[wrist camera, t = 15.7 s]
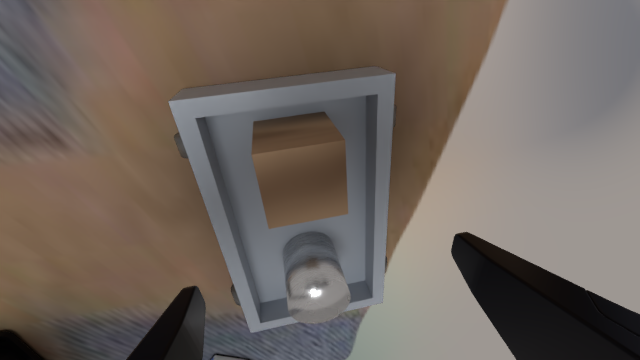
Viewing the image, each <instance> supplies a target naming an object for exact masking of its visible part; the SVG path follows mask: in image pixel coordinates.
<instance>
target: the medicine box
mask: <svg viewBox="0 0 640 360" xmlns="http://www.w3.org/2000/svg"><path fill="white" fill-rule="evenodd" d="M211 360H246V359H241V358H234V357H227V356H220V355H214V356H213V358H212V359H211Z"/></svg>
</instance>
